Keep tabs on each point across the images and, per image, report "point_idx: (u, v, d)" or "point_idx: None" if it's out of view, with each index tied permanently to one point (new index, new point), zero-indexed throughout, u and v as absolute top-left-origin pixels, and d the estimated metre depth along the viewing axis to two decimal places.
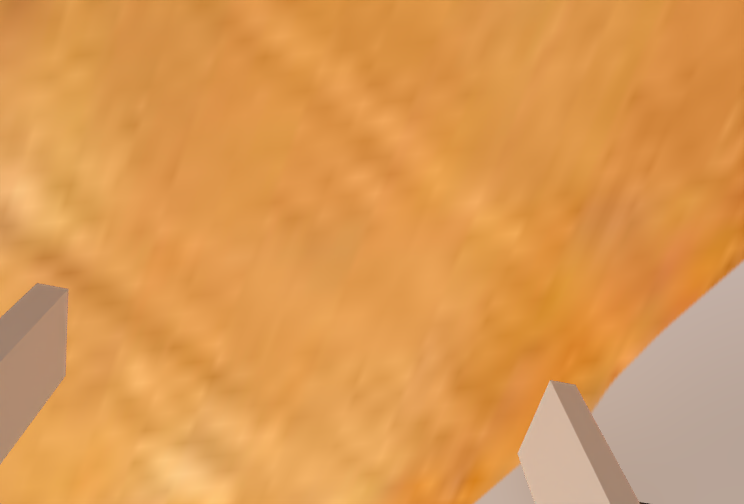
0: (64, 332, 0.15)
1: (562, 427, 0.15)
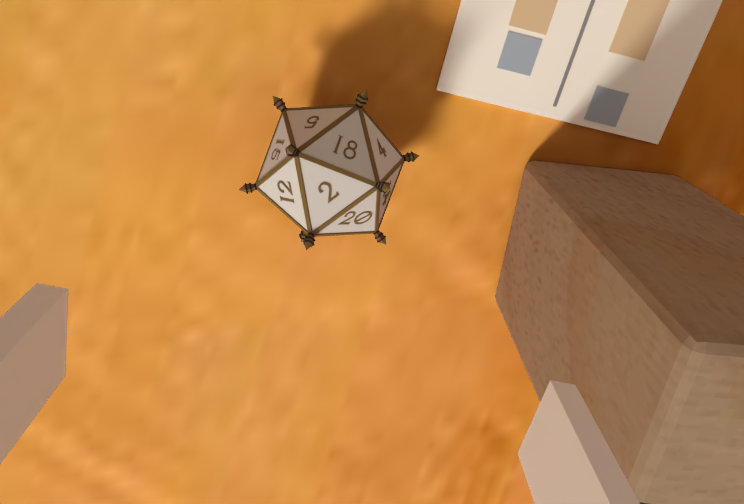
0: (64, 332, 0.15)
1: (562, 427, 0.15)
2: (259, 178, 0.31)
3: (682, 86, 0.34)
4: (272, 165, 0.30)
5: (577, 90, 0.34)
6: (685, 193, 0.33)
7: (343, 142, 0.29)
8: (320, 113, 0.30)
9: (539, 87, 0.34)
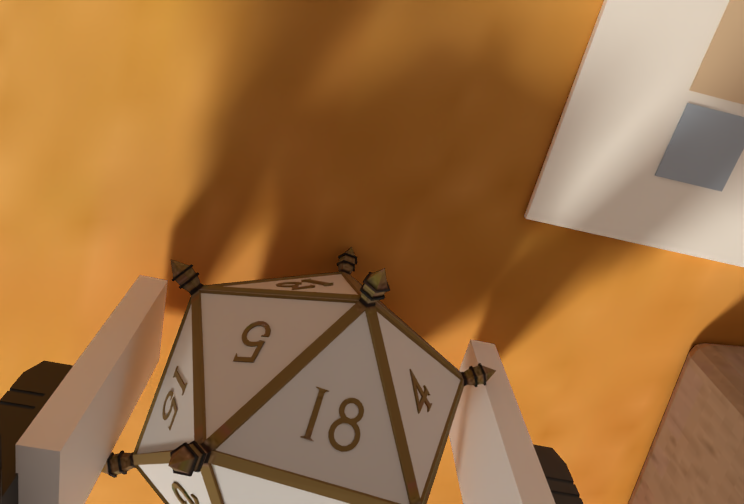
0: (161, 320, 0.17)
1: None
2: (140, 446, 0.14)
3: None
4: (162, 435, 0.13)
5: None
6: None
7: (327, 405, 0.12)
8: (275, 313, 0.13)
9: (737, 212, 0.17)
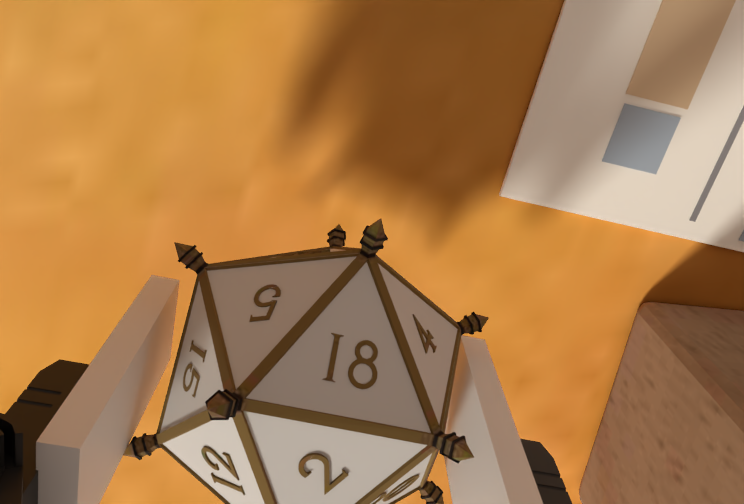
0: (173, 320, 0.17)
1: (465, 376, 0.16)
2: (163, 425, 0.14)
3: None
4: (186, 405, 0.13)
5: (732, 196, 0.21)
6: None
7: (343, 349, 0.12)
8: (281, 276, 0.14)
9: (669, 191, 0.21)
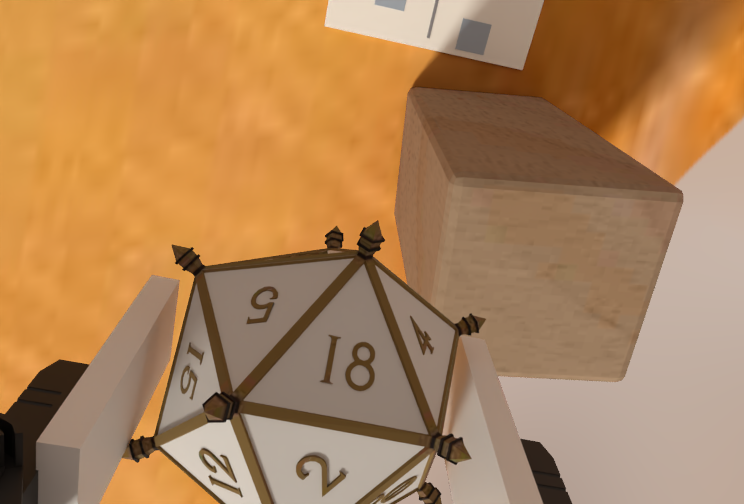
0: (173, 320, 0.17)
1: (464, 376, 0.16)
2: (160, 427, 0.14)
3: (537, 17, 0.40)
4: (183, 408, 0.13)
5: (446, 22, 0.40)
6: (536, 107, 0.38)
7: (341, 350, 0.12)
8: (279, 278, 0.14)
9: (413, 21, 0.40)
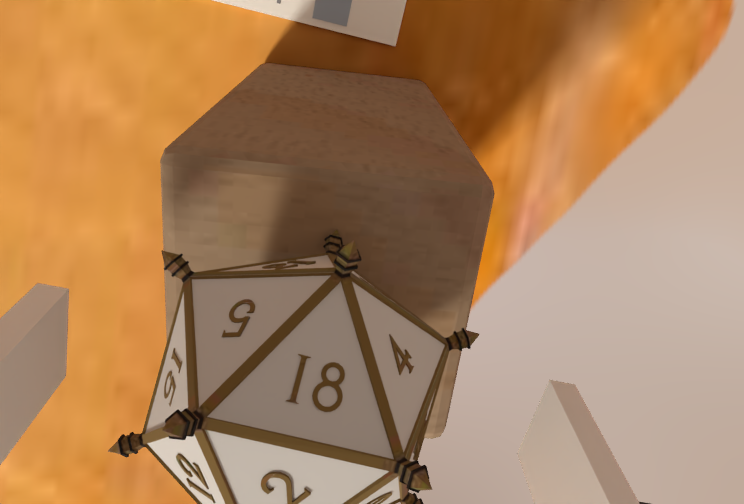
0: (65, 332, 0.15)
1: (562, 427, 0.15)
2: (147, 426, 0.15)
3: None
4: (164, 412, 0.14)
5: None
6: (399, 87, 0.32)
7: (309, 370, 0.12)
8: (259, 291, 0.14)
9: None
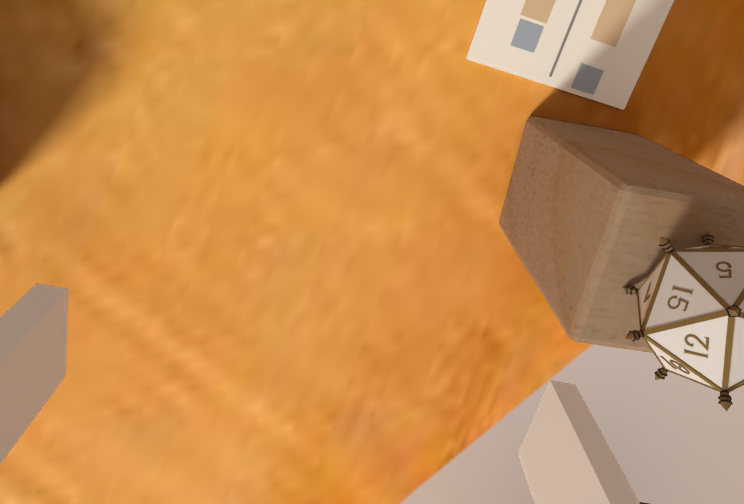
0: (64, 332, 0.15)
1: (562, 427, 0.15)
2: (648, 325, 0.29)
3: (642, 67, 0.48)
4: (675, 315, 0.28)
5: (567, 65, 0.48)
6: (640, 141, 0.46)
7: None
8: (726, 258, 0.28)
9: (540, 61, 0.47)
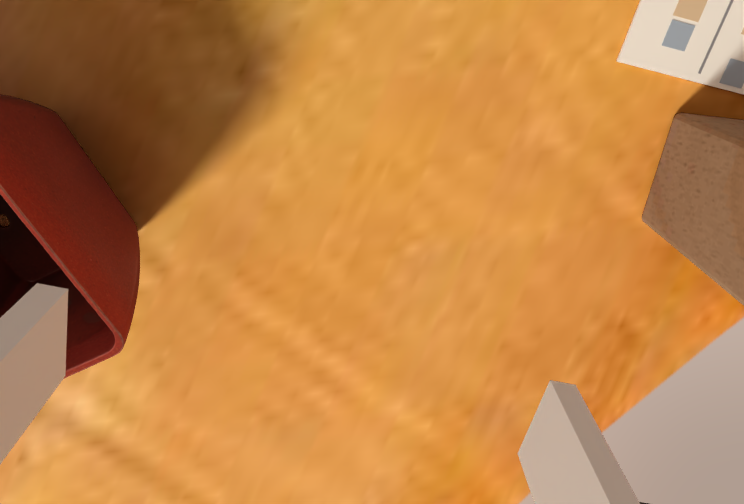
0: (64, 332, 0.15)
1: (562, 427, 0.15)
2: None
3: None
4: None
5: (716, 61, 0.48)
6: None
7: None
8: None
9: (689, 59, 0.48)
